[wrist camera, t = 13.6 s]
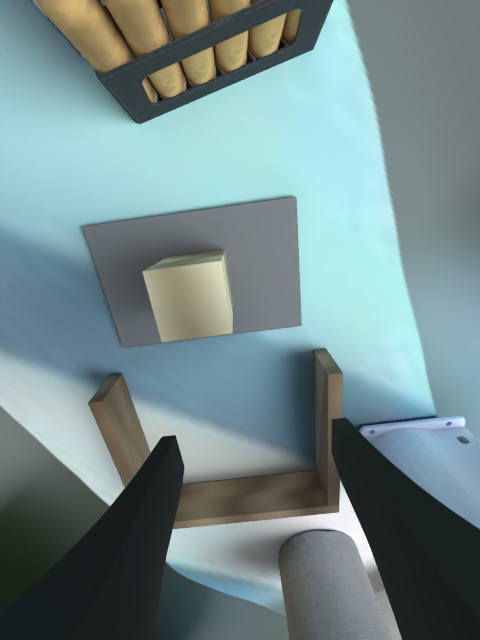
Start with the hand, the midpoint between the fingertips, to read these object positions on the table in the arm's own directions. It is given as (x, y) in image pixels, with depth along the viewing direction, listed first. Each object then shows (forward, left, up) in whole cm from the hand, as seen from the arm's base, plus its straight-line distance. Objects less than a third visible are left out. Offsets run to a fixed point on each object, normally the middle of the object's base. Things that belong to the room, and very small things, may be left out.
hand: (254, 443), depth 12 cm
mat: (+3, -6, -10) cm, 11 cm away
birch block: (+3, -6, -9) cm, 11 cm away
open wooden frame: (+3, +9, -9) cm, 13 cm away
